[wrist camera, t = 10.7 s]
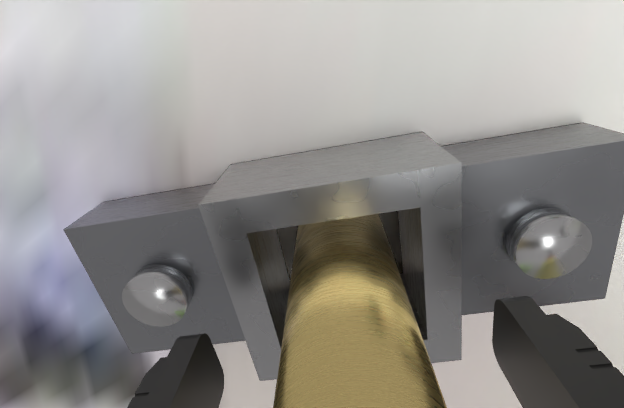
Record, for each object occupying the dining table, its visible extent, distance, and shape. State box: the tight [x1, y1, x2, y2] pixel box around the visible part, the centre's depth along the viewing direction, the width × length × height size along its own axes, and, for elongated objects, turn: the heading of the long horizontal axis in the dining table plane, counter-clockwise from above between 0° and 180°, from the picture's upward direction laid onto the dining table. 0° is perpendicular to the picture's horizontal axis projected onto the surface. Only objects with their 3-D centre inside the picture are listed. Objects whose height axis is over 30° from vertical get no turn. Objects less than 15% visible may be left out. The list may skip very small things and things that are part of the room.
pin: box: [273, 214, 447, 408], centre depth 11 cm, size 4×4×10 cm
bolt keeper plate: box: [64, 123, 624, 381], centre depth 13 cm, size 20×8×4 cm, turn 100°
